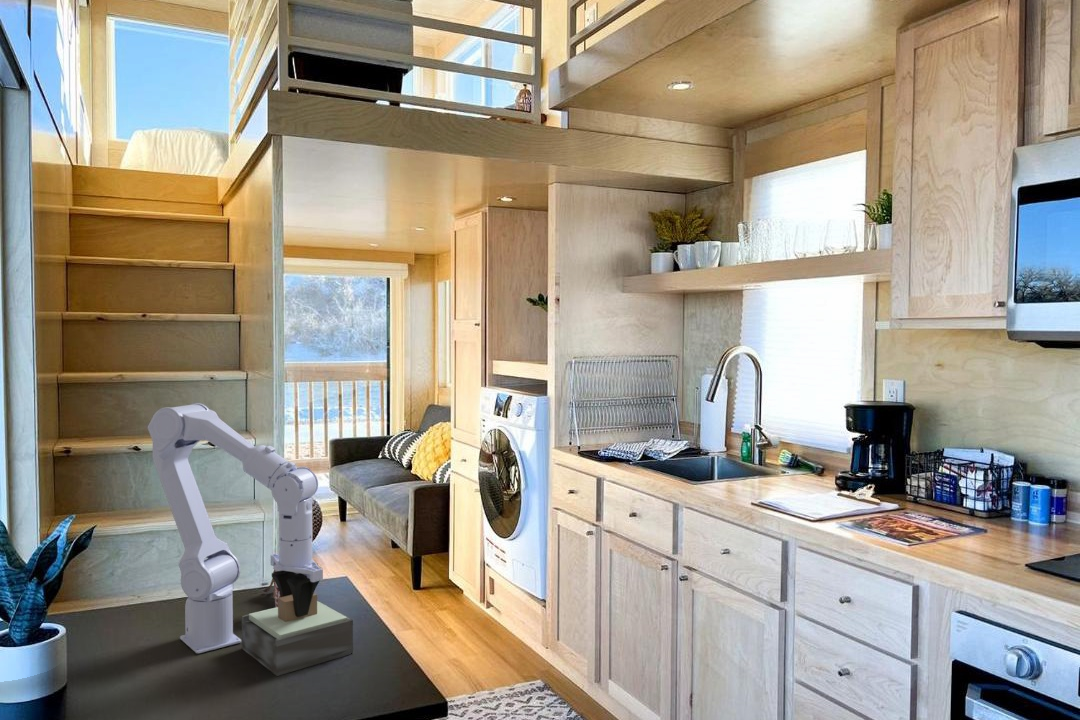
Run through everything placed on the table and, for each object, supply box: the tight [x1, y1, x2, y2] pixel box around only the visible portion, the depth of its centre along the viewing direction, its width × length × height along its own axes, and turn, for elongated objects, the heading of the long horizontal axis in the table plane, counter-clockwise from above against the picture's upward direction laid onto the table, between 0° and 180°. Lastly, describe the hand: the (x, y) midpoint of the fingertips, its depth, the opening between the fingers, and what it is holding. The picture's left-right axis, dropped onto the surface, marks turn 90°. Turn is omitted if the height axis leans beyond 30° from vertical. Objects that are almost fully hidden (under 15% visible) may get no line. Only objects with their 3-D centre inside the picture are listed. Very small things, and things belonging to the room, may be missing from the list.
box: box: [241, 599, 354, 677], centre depth 142 cm, size 15×14×6 cm
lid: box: [248, 592, 348, 639], centre depth 142 cm, size 13×12×4 cm
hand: (296, 612), depth 141 cm, fingers closed on lid, 3 cm apart
